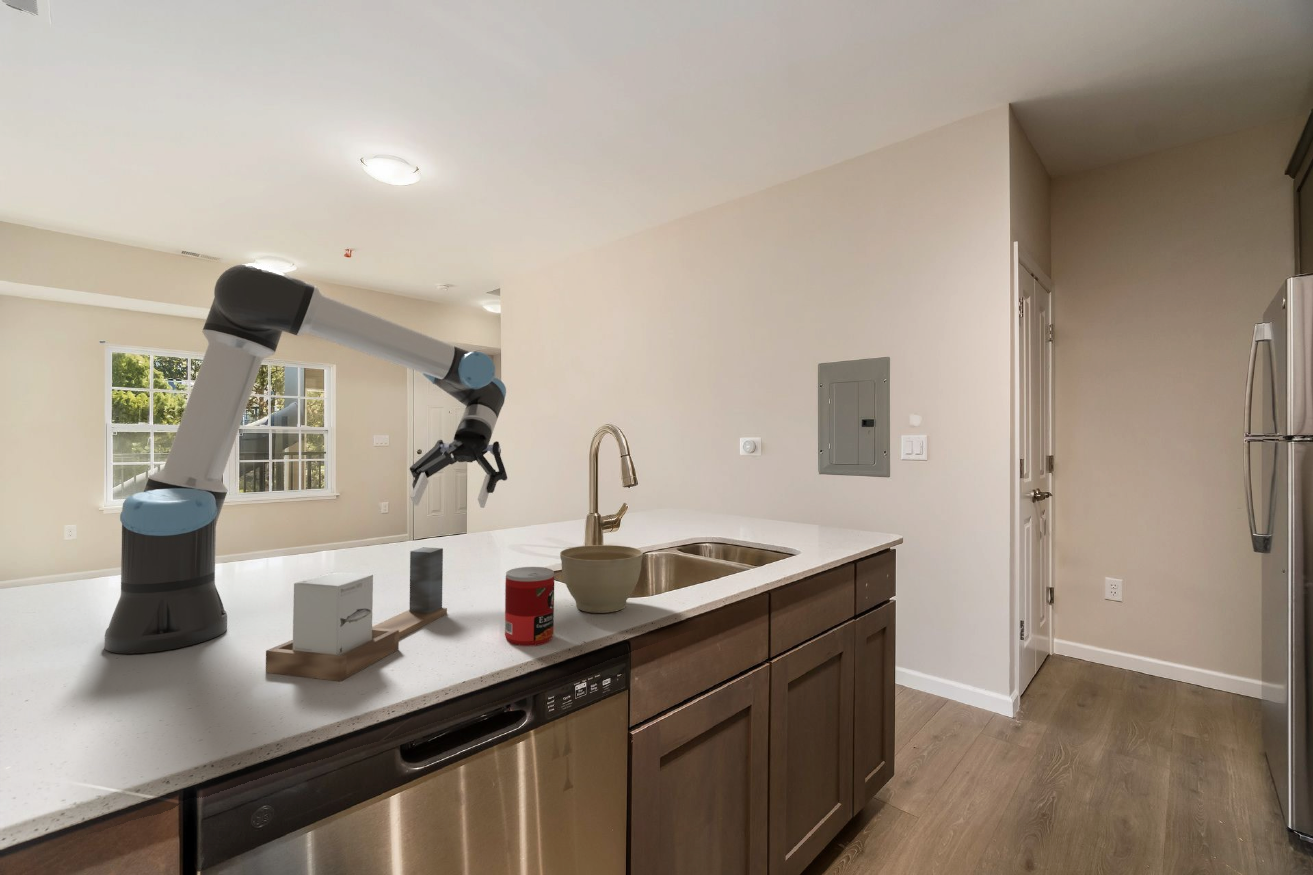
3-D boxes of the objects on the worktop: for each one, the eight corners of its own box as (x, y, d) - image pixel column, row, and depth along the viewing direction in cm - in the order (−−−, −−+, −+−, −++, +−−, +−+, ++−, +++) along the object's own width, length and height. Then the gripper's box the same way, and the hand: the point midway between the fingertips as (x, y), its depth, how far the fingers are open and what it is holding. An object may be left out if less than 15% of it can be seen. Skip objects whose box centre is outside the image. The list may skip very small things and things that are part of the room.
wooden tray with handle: (265, 672, 80) (266, 585, 80) (403, 609, 110) (404, 546, 110) (340, 681, 78) (341, 591, 78) (461, 614, 107) (462, 549, 107)
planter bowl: (655, 601, 118) (656, 548, 118) (618, 624, 103) (619, 563, 103) (586, 592, 125) (587, 541, 125) (542, 612, 110) (543, 554, 110)
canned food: (542, 648, 91) (543, 578, 91) (495, 644, 93) (496, 575, 93) (560, 632, 99) (561, 568, 99) (516, 628, 100) (517, 565, 100)
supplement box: (335, 678, 79) (337, 585, 79) (290, 673, 81) (291, 582, 81) (373, 658, 86) (374, 573, 86) (331, 653, 88) (332, 570, 88)
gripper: (532, 442, 134) (512, 515, 119) (426, 439, 135) (392, 511, 120) (527, 418, 129) (505, 492, 114) (416, 415, 130) (380, 488, 115)
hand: (447, 502), depth 117 cm, fingers open, 13 cm apart
